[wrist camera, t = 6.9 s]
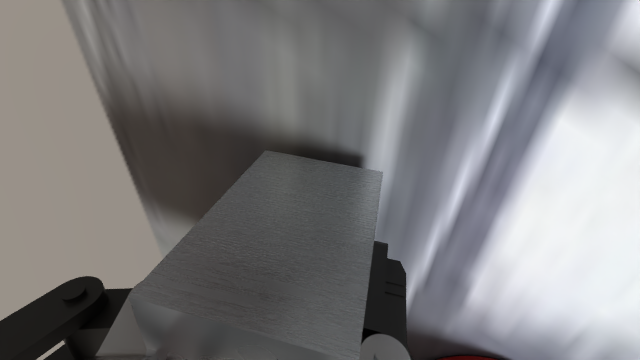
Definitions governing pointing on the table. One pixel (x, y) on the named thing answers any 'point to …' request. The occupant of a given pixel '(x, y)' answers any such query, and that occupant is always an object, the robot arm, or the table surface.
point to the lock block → (269, 268)
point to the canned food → (466, 358)
